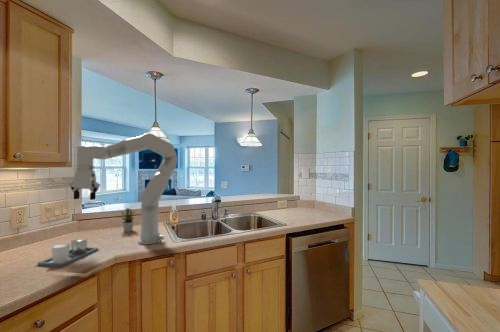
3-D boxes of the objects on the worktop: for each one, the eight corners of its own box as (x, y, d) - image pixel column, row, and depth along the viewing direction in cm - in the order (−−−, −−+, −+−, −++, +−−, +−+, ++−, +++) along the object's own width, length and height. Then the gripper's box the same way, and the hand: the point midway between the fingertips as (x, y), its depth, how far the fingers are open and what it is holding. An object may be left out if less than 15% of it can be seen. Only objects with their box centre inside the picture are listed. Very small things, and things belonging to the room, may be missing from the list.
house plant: (113, 229, 176) (113, 206, 176) (134, 227, 185) (135, 204, 185) (117, 234, 165) (117, 209, 165) (140, 231, 173) (140, 207, 173)
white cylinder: (58, 258, 119) (58, 243, 119) (73, 258, 119) (73, 243, 119) (47, 263, 112) (47, 248, 112) (63, 263, 112) (63, 247, 112)
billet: (90, 251, 129) (90, 238, 129) (79, 256, 122) (80, 242, 122) (78, 250, 130) (78, 238, 129) (67, 255, 123) (67, 242, 123)
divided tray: (101, 251, 132) (101, 247, 132) (61, 271, 108) (61, 265, 108) (77, 250, 133) (77, 246, 133) (33, 269, 110) (33, 263, 110)
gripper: (104, 168, 142) (103, 198, 142) (76, 167, 144) (75, 197, 144) (94, 168, 135) (94, 200, 135) (65, 167, 137) (64, 199, 137)
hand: (84, 199), depth 139 cm, fingers open, 9 cm apart
